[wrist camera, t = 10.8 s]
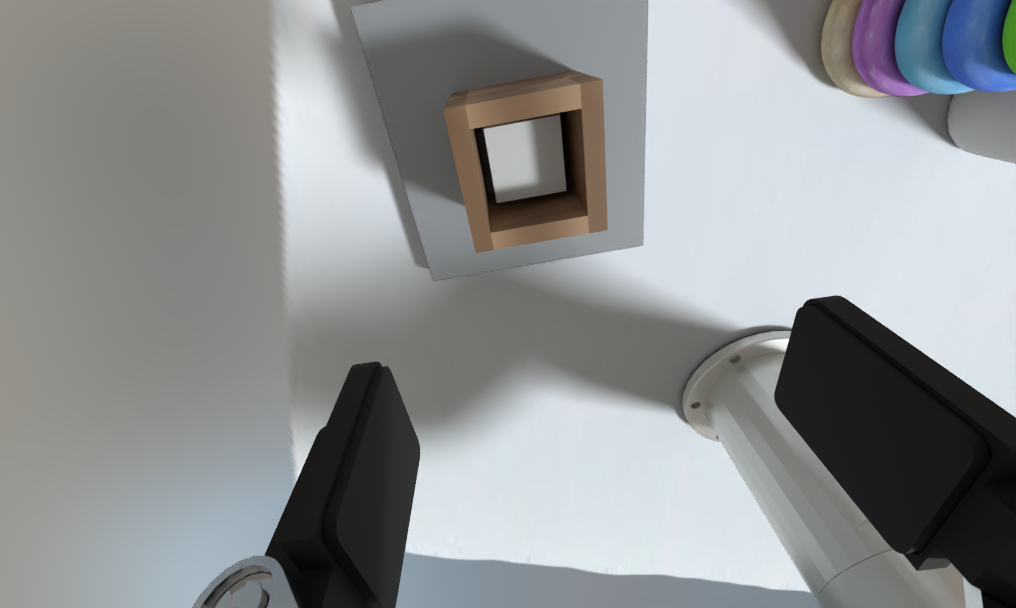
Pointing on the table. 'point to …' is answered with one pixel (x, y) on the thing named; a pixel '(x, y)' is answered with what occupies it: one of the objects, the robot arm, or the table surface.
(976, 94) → the cup
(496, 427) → the table surface
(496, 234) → the wooden cube shelf
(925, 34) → the stacking toy
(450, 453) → the table surface
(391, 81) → the board
